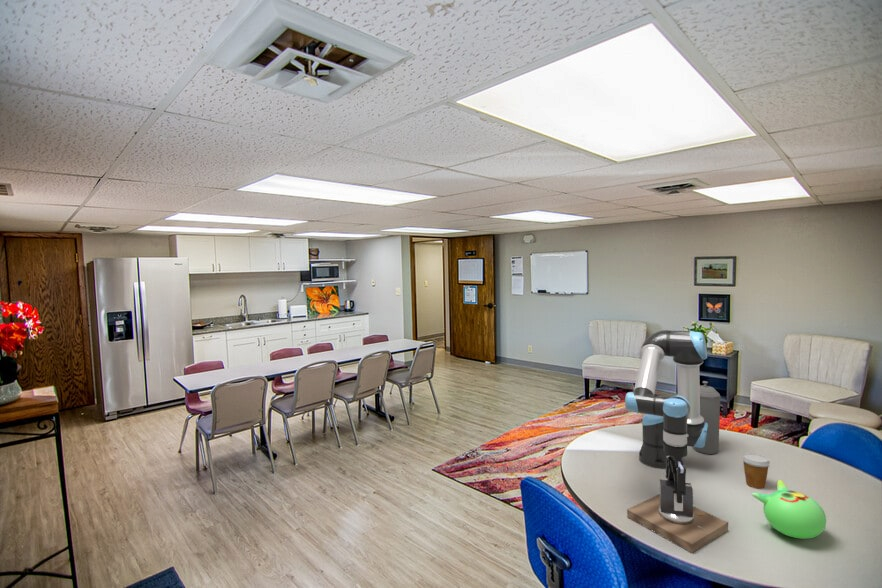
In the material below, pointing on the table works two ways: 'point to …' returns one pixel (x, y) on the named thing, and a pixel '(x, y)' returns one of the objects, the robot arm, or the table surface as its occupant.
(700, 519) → the dial panel
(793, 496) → the toy bird
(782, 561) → the table surface
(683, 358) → the robot arm
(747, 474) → the disposable coffee cup
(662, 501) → the dial
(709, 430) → the canister
